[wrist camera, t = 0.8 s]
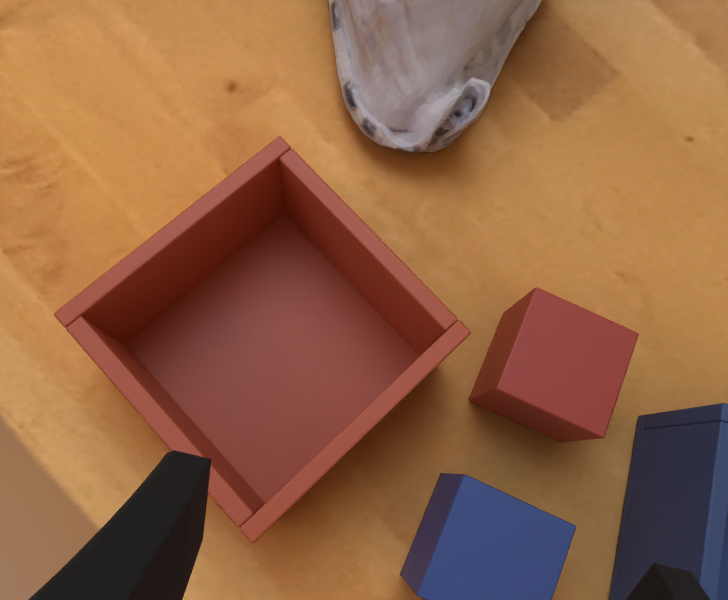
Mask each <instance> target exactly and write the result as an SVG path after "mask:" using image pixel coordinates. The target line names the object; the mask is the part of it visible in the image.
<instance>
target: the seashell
mask: <svg viewBox="0 0 728 600" xmlns="http://www.w3.org/2000/svg"><path fill="white" fill-rule="evenodd" d="M328 2H329V10H330V20H331V29H332V36H333V42H334V48H335V57H336V65H337V72H338V77H339V81H340V86H341V91H342V95H343V99H344V102H345V105H346V107H347V109H348V111H349V113H350V114H351V116H352V118H353V120H354V121H355V123H356V124H357V125H358V127H359V128H360V130H361V131H362V133H363V134H364V135H366V136H367V137H368V138H370V139H371V140H373V141H374V142H376V143H377V144H380V145H381V146H385V147H390V148H394V149H399V150H404V151H409V152H417V153H422V152H423V151H426V152H434V151H438V150H440V149H443V148H445V147H447V146H448V145H450V144H451V143H452V142H454V141H455V140H456V139H457V138H458V137H459V136H460V135H461V134H462V132H463V130H464V129H465V128H466V127H467V126H469V125H471V124H473V123H474V122H475V121H476V120H477V119H478V118H479V116H480V115H481V113H482V112H483V110H484V108H485V106H486V104H487V102H488V100H489V94H490V90H491V89H492V87H493V85H494V83H495V81H496V79H497V77H498V75H499V73H500V71H501V69H502V67H503V65H504V63H505V60H506V58H507V56H508V54H509V52H510V51H511V49H512V47H513V45H514V43H515V42H516V40H517V38H518V36H519V35H520V33H521V32H522V30H523V29H524V28H525V24H526V23H527V22H528V21H529V20H530V18H531V17H532V16H533V14H534V13H535V11H536V10H537V9H538V7H539V5H540V3H541V2H542V0H328Z"/></svg>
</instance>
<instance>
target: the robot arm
mask: <svg viewBox="0 0 728 600" xmlns="http://www.w3.org/2000/svg"><path fill="white" fill-rule="evenodd" d="M211 460H212V459H210V458H206V457H201V456H197V455H193V454H188V453H184V452H180V451H176V450H173V451H171V452H169V453H167V454H166V455H165V456H164V457H163V459H162V460H161V461H160V463H159V464H158V465H157V466H156V468H155V469H154V470H153V471H152V472H151V474H150V475H149V476H148V477H147V478H146V480H145V481H144V482H143V483H142V484H141V486H140V487H139V488H138V489H137V490H136V491H135V492H134V494H133V495H132V496H131V497H130V498H129V499H128V500H127V501H126V503H125V504H124V505H123V506H122V507H121V508H120V509H119V510H118V511H117V512H116V513H115V515H114V516H113V517H112V518H111V519H110V520H109V521H108V522H107V523H106V524H105V525H104V526H103V527H102V528H101V529H100V530H99V531H98V532H97V533H96V534H95V536H94V537H93V538H92V539H91V540H90V541H89V542H88V543H87V544H86V545H85V546H84V547H83V548H82V549H81V550H80V551H79V552H78V553H77V554H76V555H75V556H74V557H73V558H72V559H71V560H70V561H69V562H68V563H67V564H66V565H65V566H64V567H63V568H62V569H61V570H60V571H59V572H58V573H57V574H56V575H55V576H54V577H52V578H51V579H50V580H49V581H48V582H47V583H46V584H45V585H44V586H43V587H42V588H41V589H39V590H38V591H37V592H36V593H35V594H34V595H33V596H32V597H31V598H30V599H29V600H182V599H183V596H184V593H185V590H186V587H187V584H188V581H189V578H190V576H191V573H192V570H193V567H194V564H195V561H196V558H197V555H198V552H199V549H200V546H201V543H202V540H203V532H204V523H205V514H206V505H207V496H208V487H209V478H210V469H211ZM626 600H710V598H709V597H708V595H707V594H706V592H705V591H704V589H703V588H702V587H701V585H700V584H699V582H698V581H697V579H696V578H695V577H694V575H693V574H692V572H691V571H687V570H683V569H678V568H674V567H670V566H666V565H661V564H657V563H653V564H652V566H651V567H650V568H649V570H648V571H647V572H646V574H645V575H644V576H643V578H642V579H641V580H640V581H639V583H638V584H637V585H636V587H635V588H634V589H633V591H632V592H631V593H630V595H629V596H628V597H627V599H626Z"/></svg>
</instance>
